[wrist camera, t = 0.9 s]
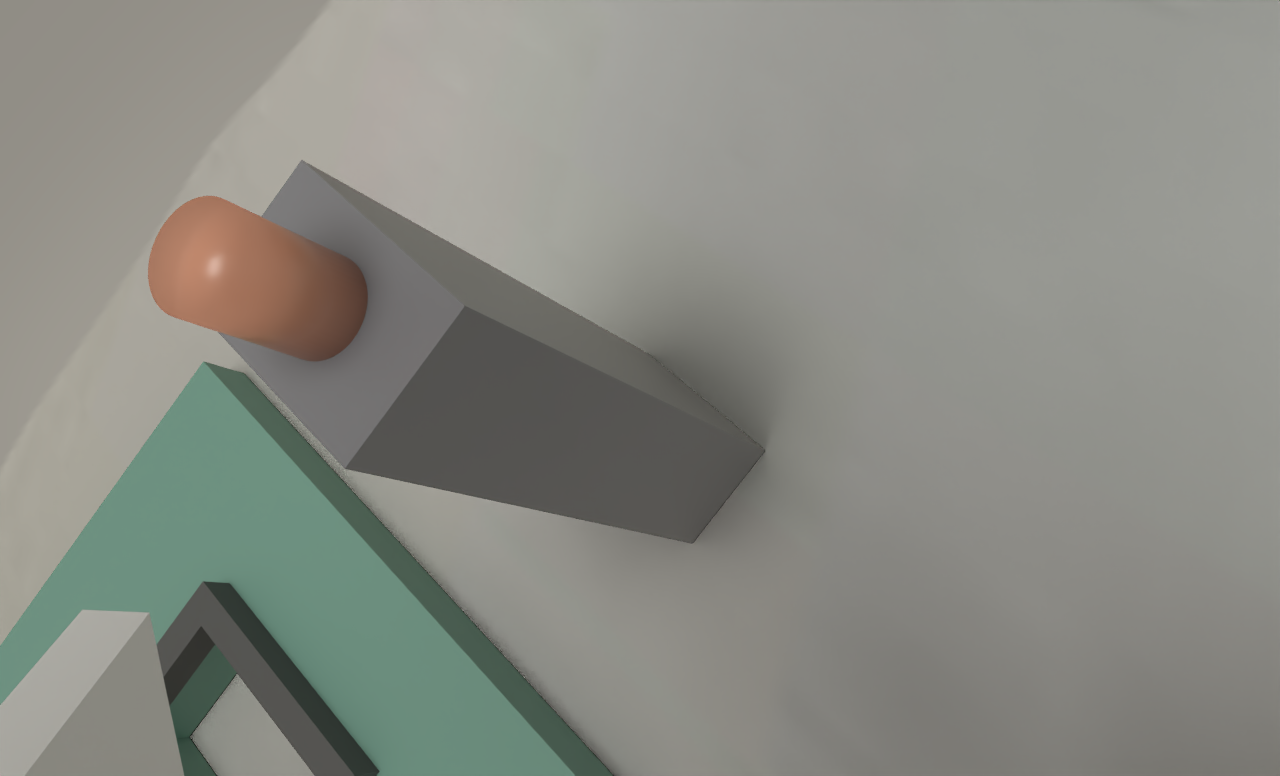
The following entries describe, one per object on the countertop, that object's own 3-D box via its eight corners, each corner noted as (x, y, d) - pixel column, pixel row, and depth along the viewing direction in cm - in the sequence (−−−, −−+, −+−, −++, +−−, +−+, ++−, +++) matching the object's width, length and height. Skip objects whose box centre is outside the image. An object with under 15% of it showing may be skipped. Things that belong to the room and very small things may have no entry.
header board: (651, 816, 33) (601, 832, 30) (326, 1218, 34) (250, 1270, 32) (244, 373, 43) (177, 353, 40) (7, 702, 44) (-74, 706, 41)
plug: (765, 450, 34) (351, 251, 17) (692, 543, 34) (215, 440, 17) (639, 346, 36) (166, 79, 19) (572, 434, 36) (50, 249, 19)
